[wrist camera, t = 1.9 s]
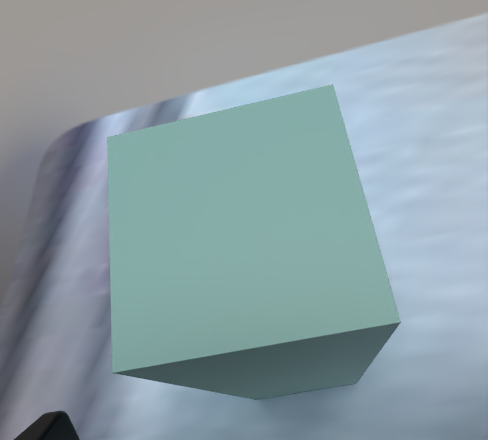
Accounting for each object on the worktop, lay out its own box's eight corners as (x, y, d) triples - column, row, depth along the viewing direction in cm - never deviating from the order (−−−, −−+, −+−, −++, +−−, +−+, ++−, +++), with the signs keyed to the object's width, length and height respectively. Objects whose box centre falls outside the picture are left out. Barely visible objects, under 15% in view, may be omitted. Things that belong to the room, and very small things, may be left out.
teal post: (356, 383, 18) (400, 322, 6) (256, 399, 18) (112, 373, 6) (333, 284, 19) (332, 84, 8) (242, 301, 20) (107, 137, 8)
